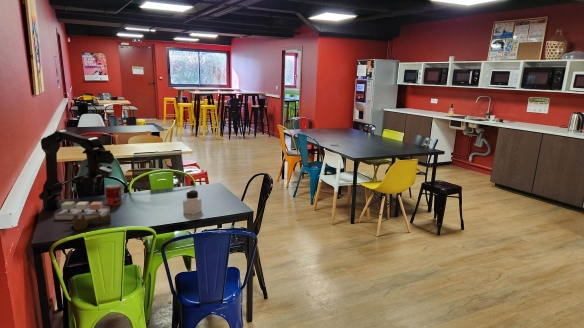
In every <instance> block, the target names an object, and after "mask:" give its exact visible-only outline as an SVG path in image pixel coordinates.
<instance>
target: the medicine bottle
mask: <svg viewBox="0 0 584 328" xmlns="http://www.w3.org/2000/svg"><path fill="white" fill-rule="evenodd" d="M185 193H186V195H185V196H186V198H185V199H184V200H183V201H182V210H183V212H182V213H183V214H186V215H191V214H192V215H193V216H195V215H197V214H199V213H200V211H201V212H202V211H203V210H202V198H199V192H198V191H197V190H195V189H192V190H191V189H189V190H187V191H186V192H185ZM198 212H199V213H198Z"/></svg>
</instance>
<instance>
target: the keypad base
mask: <svg viewBox="0 0 584 328" xmlns="http://www.w3.org/2000/svg"><path fill="white" fill-rule="evenodd" d="M110 207H111V206H108V205H106V206H104V205H103V207H102V208H101V209H100V210H90V205H89V207H88V208H87V209H86V210H76V205H75V207H74V208H73V209H72V210H62V209H61V211H59V212H57V213H55V214H54V218H55V220H73V217H74V216H75V215H76V214H83V215H84V216H85V219H91V218H94V217H97V216H99V215H106V214H108V213H110V211H111V210H110Z"/></svg>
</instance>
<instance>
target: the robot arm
mask: <svg viewBox="0 0 584 328" xmlns="http://www.w3.org/2000/svg"><path fill="white" fill-rule="evenodd" d="M64 141H67V142H70V143H74V144H77V145H79V146H80V147H81V148H82V149H84V150H83V151H82V154H86V156H85V157H86V165H85V168H87V172H86V174H85V175H84V176H82V177H81V178H80V183H81V184H83V185H84V186H85V188H86V189H87V190H88V191H89V193H90V194H91V195H95V186H96V188H97V190H102V189H101V188H102V182H103V179H104V178H109V177H110V176H112V174H113V172H114V168H113V166H112V165H111V164H113V162H114V161H115V156H114V153H112V152H111V150H110V149H107V150H106V147H104V145H103V143H102V142H101V141H100V138H98V137H96V136H84V135H81V134H77V133H75V132H70V131H68V130H67V129H58V130H56V131H54V132H53V133H51V134H49V135H47V136H44V137H42V138H41V139H40V145H41V150H42V151H43V152H44V154H45V175H46V180H45V182H44V183H43V186H42V191H41V193H39V195H38V199H39V200H42V205H43V208H42V209H41V210H42V211H56V210H57V209H58V208H60V207H61V204H60V199H59V197H60V196H61V193H62V191H63V189H64V188H63V182H62V181H60V180H59V179H58V156H57V155H58V152H59V150H60V148H61V143H62V142H64ZM103 164H105V165H107V166H103Z"/></svg>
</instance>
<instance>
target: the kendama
mask: <svg viewBox="0 0 584 328" xmlns="http://www.w3.org/2000/svg"><path fill="white" fill-rule="evenodd" d="M111 222H112V215H111V213H110V212H108V213H107V214H106V215H99V216H97V217H94V218H91V219H85V216H84V215H83V214H76V215H75V216H74V217H73V219H72V221H69V222H65V223H64V225H72V224H73V226H72V227H73V229H74V230H75V231H79V232H80V231H84V230H86V229H87V228H88V224H89V223H99V224H103V223H108V224H111Z"/></svg>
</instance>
